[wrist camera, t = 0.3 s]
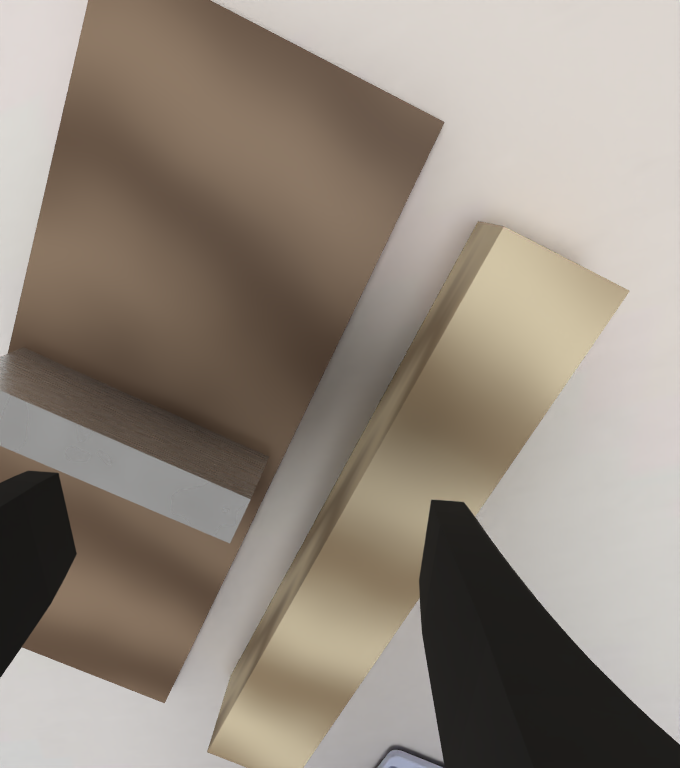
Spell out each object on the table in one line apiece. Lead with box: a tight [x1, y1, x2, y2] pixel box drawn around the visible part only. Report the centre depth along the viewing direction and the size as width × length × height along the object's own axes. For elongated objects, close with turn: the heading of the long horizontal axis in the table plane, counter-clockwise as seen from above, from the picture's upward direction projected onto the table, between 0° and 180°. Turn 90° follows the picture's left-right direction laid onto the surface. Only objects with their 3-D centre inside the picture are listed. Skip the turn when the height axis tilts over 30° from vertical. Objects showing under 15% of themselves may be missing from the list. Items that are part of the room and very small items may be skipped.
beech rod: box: [207, 221, 629, 768], centre depth 20 cm, size 24×4×4 cm, turn 155°
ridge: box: [0, 348, 269, 543], centre depth 18 cm, size 2×10×3 cm, turn 65°
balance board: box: [0, 0, 444, 703], centre depth 20 cm, size 28×11×1 cm, turn 155°
